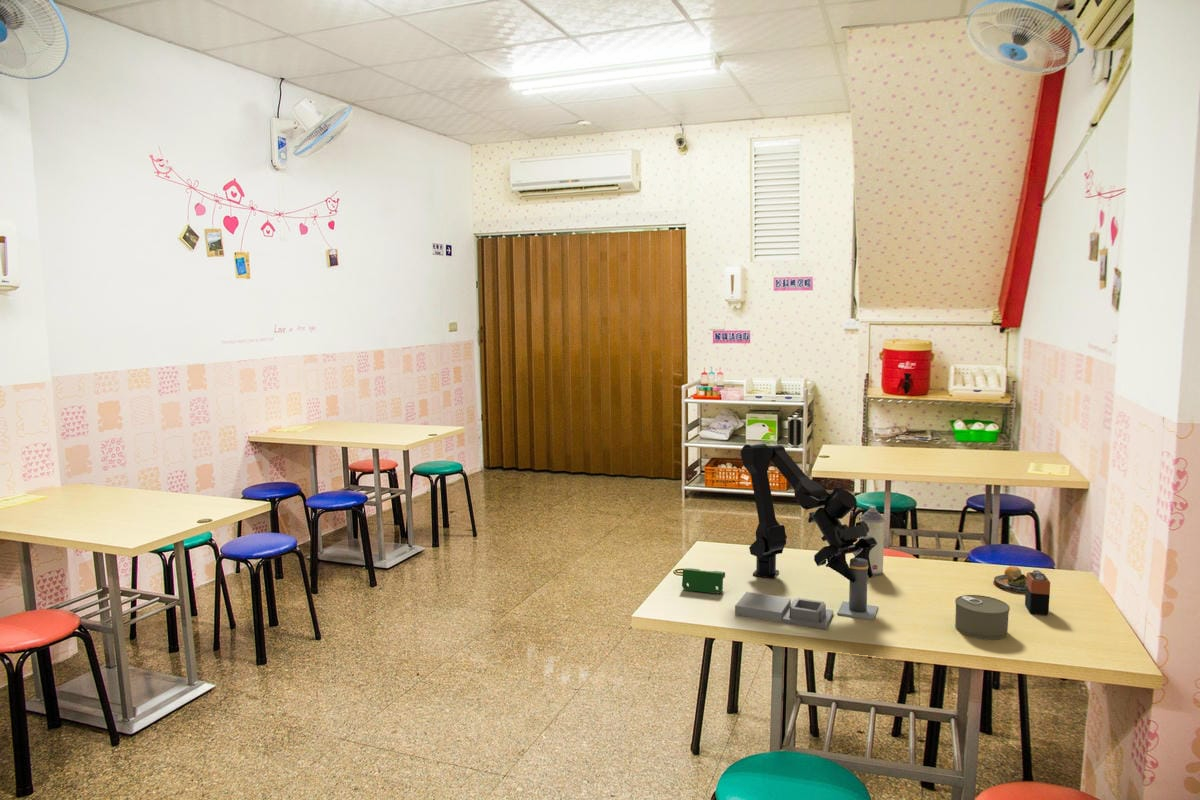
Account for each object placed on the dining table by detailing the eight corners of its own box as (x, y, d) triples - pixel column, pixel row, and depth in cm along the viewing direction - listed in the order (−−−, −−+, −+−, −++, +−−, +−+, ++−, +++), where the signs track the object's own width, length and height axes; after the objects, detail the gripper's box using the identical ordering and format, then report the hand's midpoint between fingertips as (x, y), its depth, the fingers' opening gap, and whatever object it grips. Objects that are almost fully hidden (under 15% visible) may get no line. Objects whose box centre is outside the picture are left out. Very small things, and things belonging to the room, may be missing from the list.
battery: (1042, 606, 209) (1044, 570, 208) (1048, 616, 202) (1051, 578, 201) (1024, 604, 210) (1026, 568, 209) (1029, 614, 204) (1032, 576, 203)
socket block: (746, 600, 215) (746, 588, 214) (833, 614, 205) (833, 601, 205) (734, 614, 205) (735, 601, 205) (825, 629, 195) (826, 615, 195)
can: (983, 644, 186) (985, 616, 185) (943, 625, 197) (944, 599, 196) (1019, 635, 191) (1021, 608, 190) (978, 617, 202) (979, 591, 201)
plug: (846, 606, 209) (847, 557, 208) (863, 606, 209) (865, 557, 208) (851, 612, 204) (852, 562, 203) (869, 612, 204) (870, 562, 203)
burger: (1043, 597, 216) (1045, 570, 216) (996, 592, 221) (997, 566, 220) (1036, 582, 228) (1037, 557, 227) (991, 578, 232) (992, 553, 231)
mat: (842, 602, 213) (842, 601, 212) (878, 608, 209) (878, 606, 209) (837, 614, 204) (837, 612, 204) (873, 620, 201) (873, 618, 201)
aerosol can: (855, 568, 241) (857, 503, 238) (877, 567, 241) (880, 503, 239) (863, 575, 234) (865, 509, 232) (886, 575, 234) (888, 509, 232)
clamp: (717, 603, 225) (731, 575, 225) (713, 605, 219) (727, 576, 219) (680, 582, 229) (694, 554, 229) (675, 584, 224) (689, 555, 223)
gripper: (823, 516, 202) (856, 570, 194) (872, 506, 212) (906, 557, 204) (800, 539, 210) (830, 591, 202) (849, 528, 219) (880, 578, 211)
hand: (863, 579), depth 204 cm, fingers open, 6 cm apart
